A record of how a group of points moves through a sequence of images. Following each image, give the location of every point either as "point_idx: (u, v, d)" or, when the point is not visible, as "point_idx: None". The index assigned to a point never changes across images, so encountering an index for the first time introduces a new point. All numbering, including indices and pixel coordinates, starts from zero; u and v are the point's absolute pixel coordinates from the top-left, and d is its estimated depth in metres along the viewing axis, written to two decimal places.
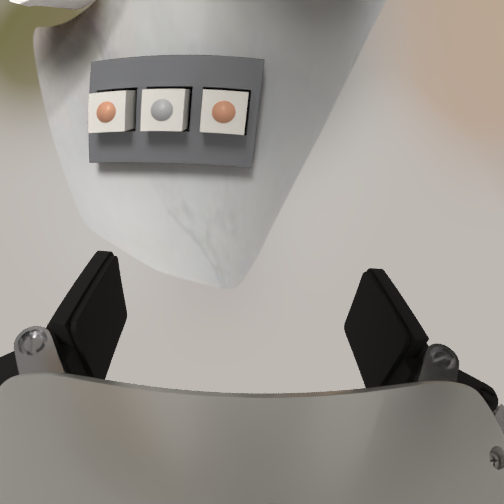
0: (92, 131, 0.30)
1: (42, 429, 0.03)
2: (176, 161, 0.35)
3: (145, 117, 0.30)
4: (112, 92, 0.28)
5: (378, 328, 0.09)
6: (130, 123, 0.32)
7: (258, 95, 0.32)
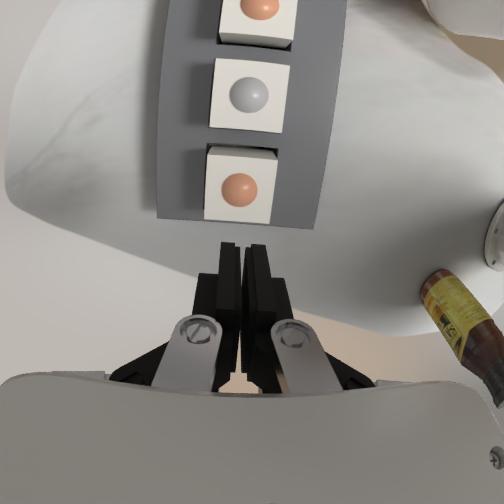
0: None
1: (42, 429, 0.03)
2: (160, 109, 0.21)
3: (239, 67, 0.17)
4: (292, 18, 0.15)
5: (245, 301, 0.10)
6: (230, 38, 0.17)
7: (261, 223, 0.26)
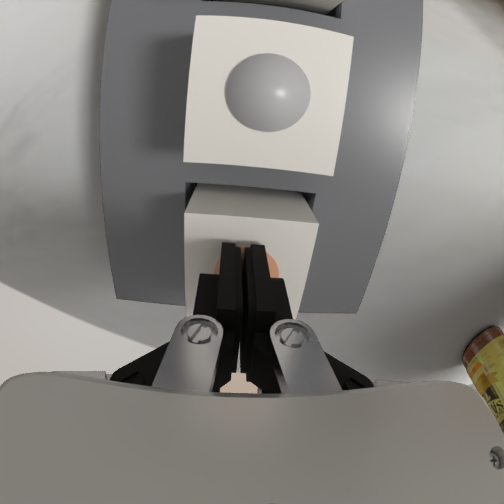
0: None
1: (42, 429, 0.03)
2: (103, 123, 0.11)
3: (246, 33, 0.07)
4: None
5: (244, 301, 0.10)
6: None
7: None
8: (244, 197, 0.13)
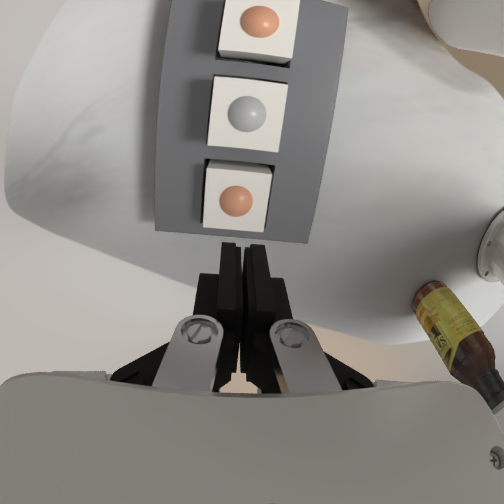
0: None
1: (42, 429, 0.03)
2: (159, 124, 0.21)
3: (237, 86, 0.18)
4: (292, 36, 0.16)
5: (244, 301, 0.10)
6: (229, 54, 0.18)
7: (257, 237, 0.27)
8: (236, 164, 0.24)
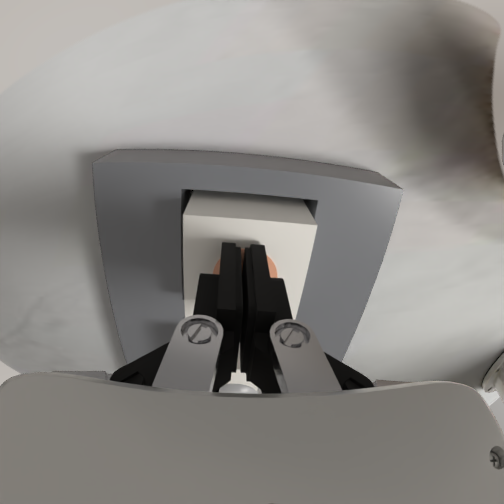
0: (187, 230, 0.11)
1: (42, 429, 0.03)
2: (128, 360, 0.17)
3: None
4: (296, 295, 0.13)
5: (244, 301, 0.10)
6: None
7: None
8: None
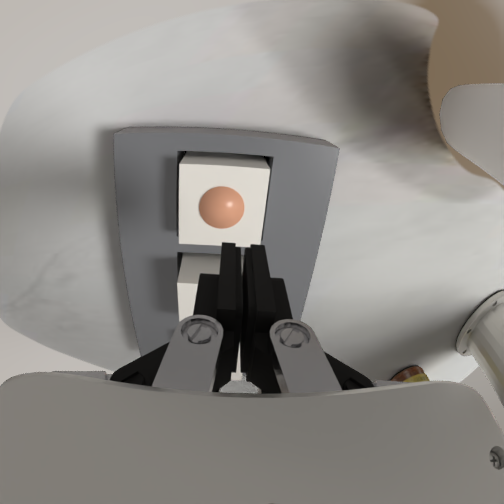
0: (182, 174, 0.16)
1: (42, 429, 0.03)
2: (131, 297, 0.22)
3: None
4: (259, 222, 0.18)
5: (244, 301, 0.10)
6: None
7: None
8: None
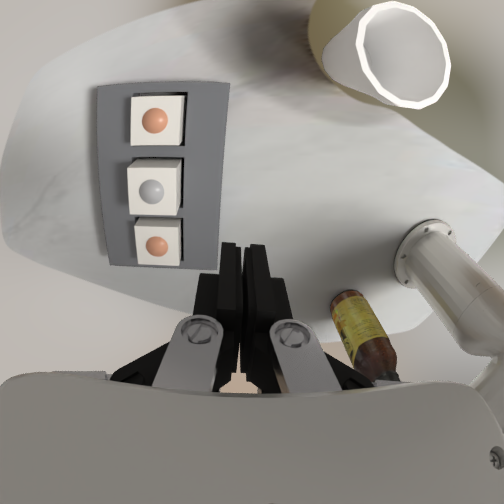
0: (133, 103, 0.24)
1: (42, 429, 0.03)
2: (102, 194, 0.30)
3: (142, 173, 0.27)
4: (177, 128, 0.26)
5: (244, 301, 0.10)
6: None
7: (179, 267, 0.36)
8: (157, 218, 0.33)
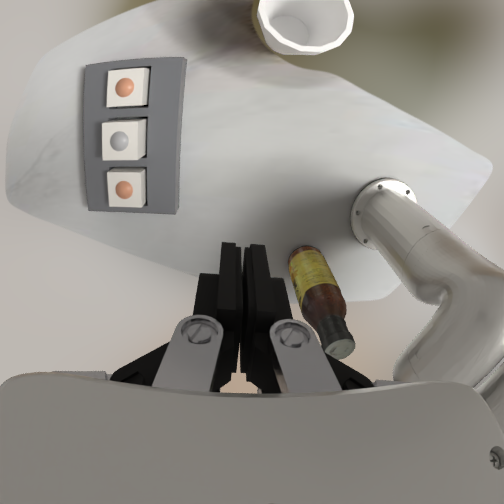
0: (109, 75, 0.29)
1: (42, 429, 0.03)
2: (85, 149, 0.35)
3: (113, 126, 0.32)
4: (141, 92, 0.31)
5: (244, 301, 0.10)
6: None
7: (143, 211, 0.41)
8: (126, 168, 0.38)
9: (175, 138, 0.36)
